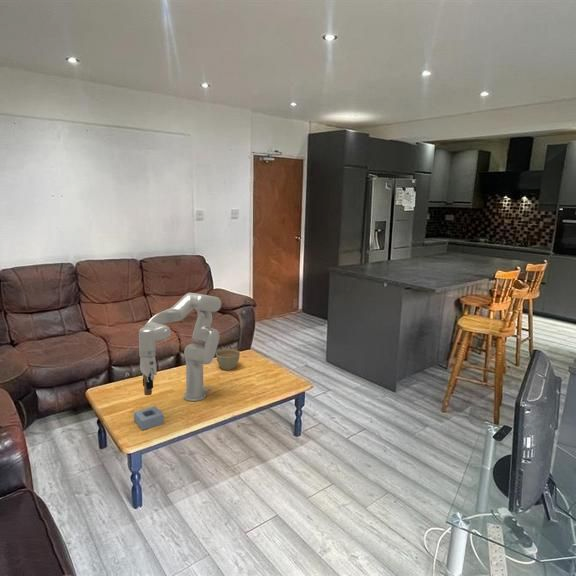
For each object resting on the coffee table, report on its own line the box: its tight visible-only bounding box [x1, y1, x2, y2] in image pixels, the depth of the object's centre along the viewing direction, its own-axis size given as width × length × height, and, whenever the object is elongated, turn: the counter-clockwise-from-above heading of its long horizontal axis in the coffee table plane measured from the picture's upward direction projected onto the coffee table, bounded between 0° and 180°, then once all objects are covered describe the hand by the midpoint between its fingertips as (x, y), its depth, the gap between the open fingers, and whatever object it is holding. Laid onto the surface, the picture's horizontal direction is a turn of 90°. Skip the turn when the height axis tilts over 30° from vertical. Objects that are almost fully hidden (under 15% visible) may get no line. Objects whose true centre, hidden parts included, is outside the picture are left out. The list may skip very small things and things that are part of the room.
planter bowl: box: [215, 348, 241, 371], centre depth 281 cm, size 16×16×11 cm
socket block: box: [133, 405, 165, 431], centre depth 209 cm, size 11×11×5 cm
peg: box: [143, 375, 153, 396], centre depth 205 cm, size 4×4×12 cm
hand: (148, 386), depth 206 cm, fingers closed on peg, 3 cm apart
